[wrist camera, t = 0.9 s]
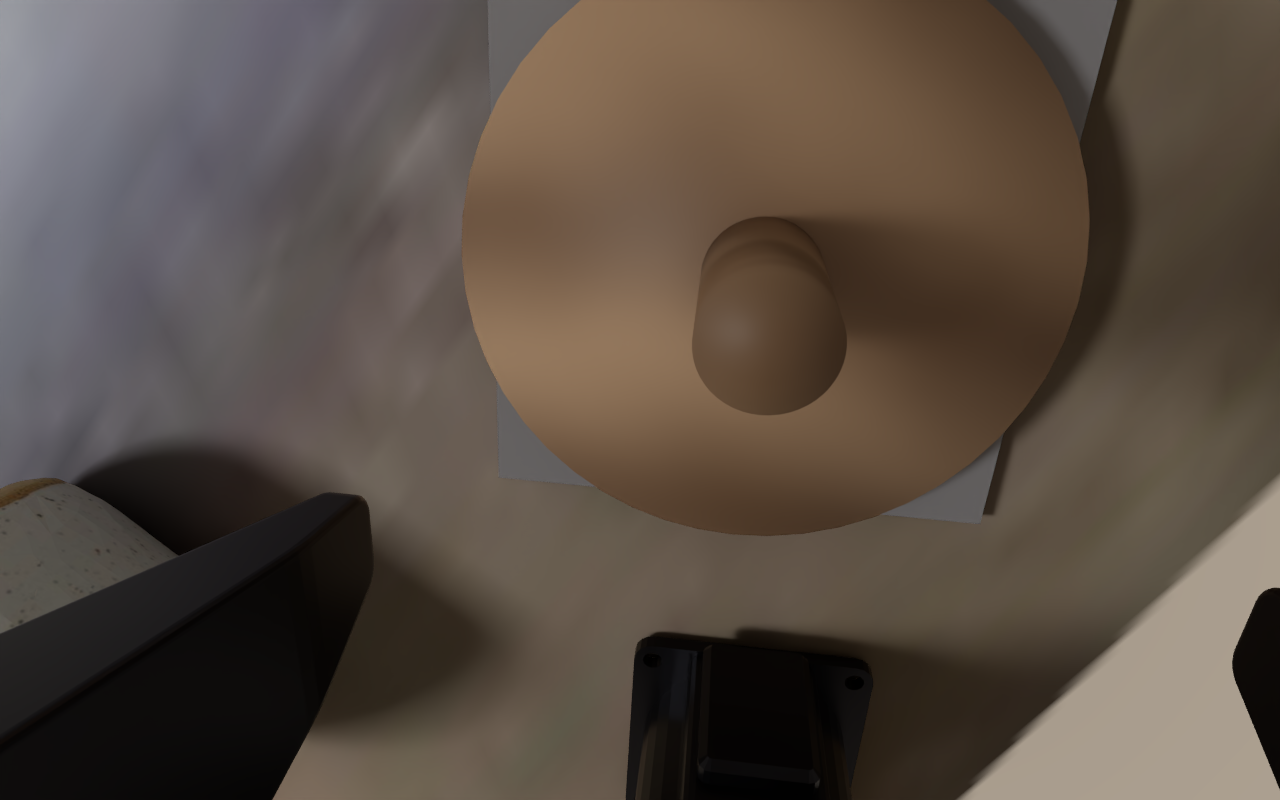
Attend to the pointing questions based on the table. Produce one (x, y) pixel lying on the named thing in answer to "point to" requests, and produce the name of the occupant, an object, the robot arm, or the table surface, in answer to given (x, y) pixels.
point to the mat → (1046, 18)
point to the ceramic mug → (64, 548)
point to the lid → (774, 250)
